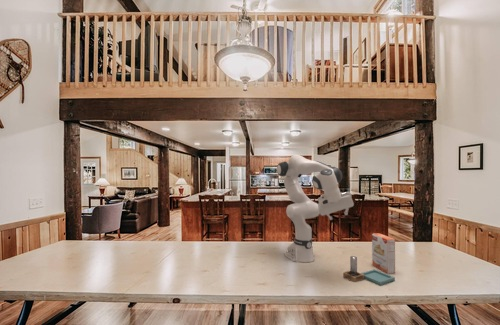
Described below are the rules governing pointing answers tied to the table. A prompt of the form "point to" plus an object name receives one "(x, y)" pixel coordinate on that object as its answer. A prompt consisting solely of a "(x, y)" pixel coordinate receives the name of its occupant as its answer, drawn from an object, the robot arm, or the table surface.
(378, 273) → the tray
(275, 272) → the table surface
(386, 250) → the cracker box
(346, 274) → the collar
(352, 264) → the peg
